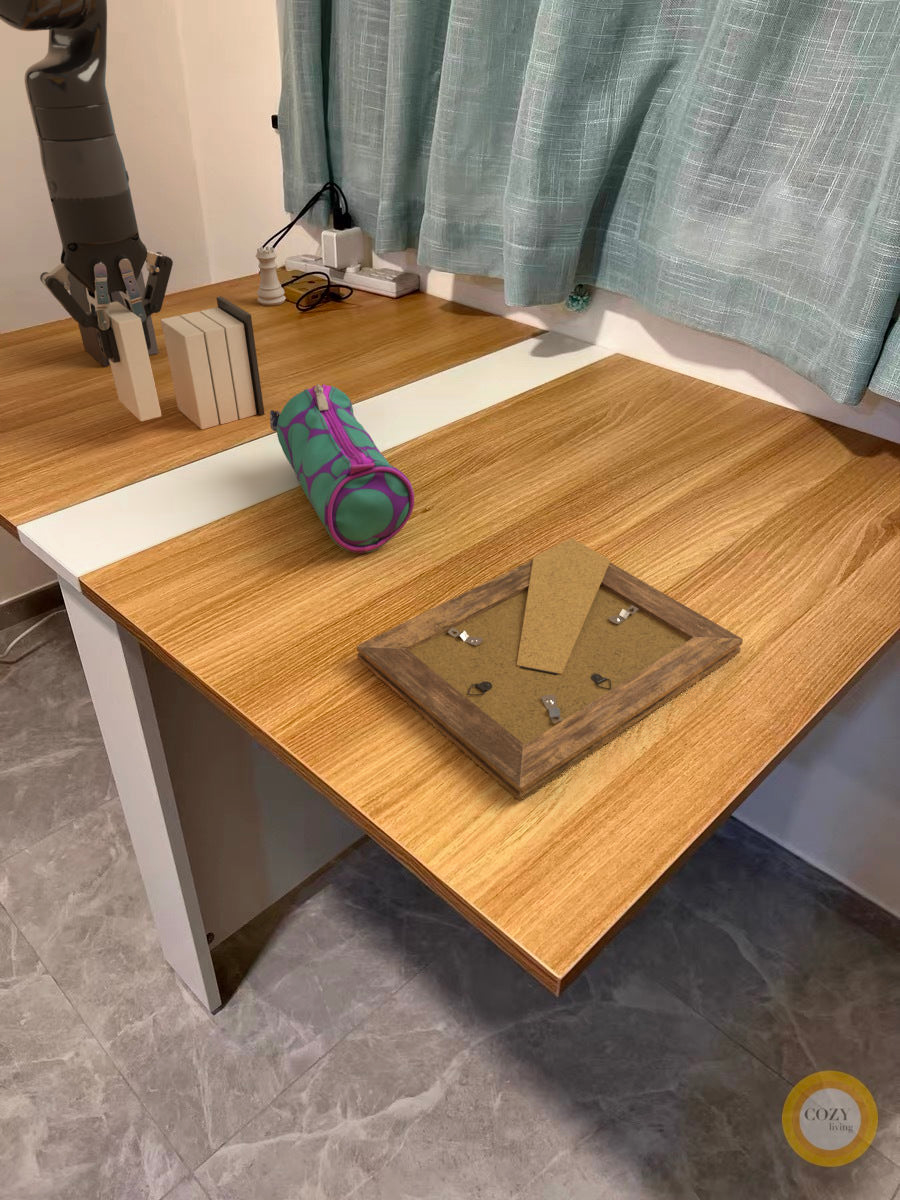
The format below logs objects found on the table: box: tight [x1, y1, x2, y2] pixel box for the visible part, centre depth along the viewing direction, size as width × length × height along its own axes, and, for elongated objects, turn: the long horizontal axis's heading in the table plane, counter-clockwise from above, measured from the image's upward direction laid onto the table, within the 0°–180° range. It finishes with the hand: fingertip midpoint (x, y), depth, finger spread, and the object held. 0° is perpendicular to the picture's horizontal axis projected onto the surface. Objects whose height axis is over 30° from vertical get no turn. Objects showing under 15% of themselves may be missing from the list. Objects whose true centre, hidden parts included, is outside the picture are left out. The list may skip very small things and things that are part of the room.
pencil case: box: [269, 384, 415, 554], centre depth 86 cm, size 21×9×10 cm, turn 22°
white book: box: [108, 301, 162, 423], centre depth 97 cm, size 2×7×11 cm, turn 36°
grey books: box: [68, 270, 160, 368], centre depth 119 cm, size 8×8×12 cm
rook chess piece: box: [255, 246, 287, 307], centre depth 137 cm, size 4×4×8 cm
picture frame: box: [356, 537, 744, 802], centre depth 69 cm, size 19×2×24 cm
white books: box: [160, 296, 265, 431], centre depth 103 cm, size 8×8×12 cm
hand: (127, 356), depth 97 cm, fingers closed on white book, 2 cm apart
